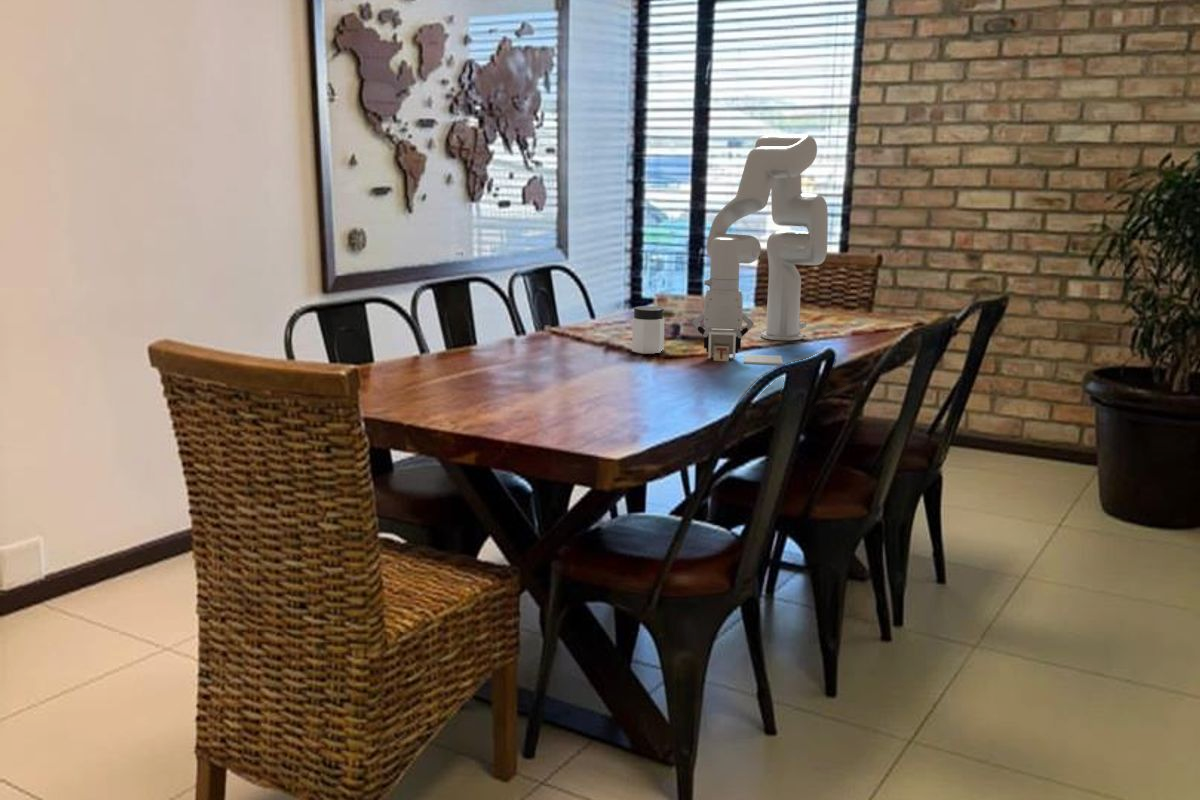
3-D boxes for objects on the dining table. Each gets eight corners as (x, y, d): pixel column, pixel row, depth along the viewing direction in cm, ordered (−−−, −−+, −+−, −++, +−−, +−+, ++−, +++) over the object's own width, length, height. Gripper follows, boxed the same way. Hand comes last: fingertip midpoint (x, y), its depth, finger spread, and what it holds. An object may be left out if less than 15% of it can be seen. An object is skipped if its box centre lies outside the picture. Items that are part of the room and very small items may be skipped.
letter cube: (713, 358, 275) (714, 343, 275) (728, 358, 275) (729, 343, 274) (713, 361, 271) (714, 346, 271) (728, 361, 271) (729, 346, 270)
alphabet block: (709, 353, 277) (710, 327, 276) (735, 353, 276) (736, 328, 275) (708, 358, 271) (708, 332, 269) (734, 359, 270) (735, 332, 268)
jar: (670, 352, 283) (671, 308, 280) (647, 355, 278) (648, 311, 275) (648, 347, 290) (649, 305, 287) (626, 350, 285) (627, 307, 282)
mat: (744, 356, 278) (744, 354, 278) (781, 357, 276) (781, 355, 276) (743, 363, 268) (743, 361, 268) (782, 364, 267) (782, 363, 267)
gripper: (690, 286, 266) (688, 353, 271) (757, 287, 264) (755, 355, 268) (691, 282, 274) (690, 348, 278) (757, 283, 271) (755, 350, 275)
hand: (722, 351), depth 273 cm, fingers closed on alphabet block, 7 cm apart
